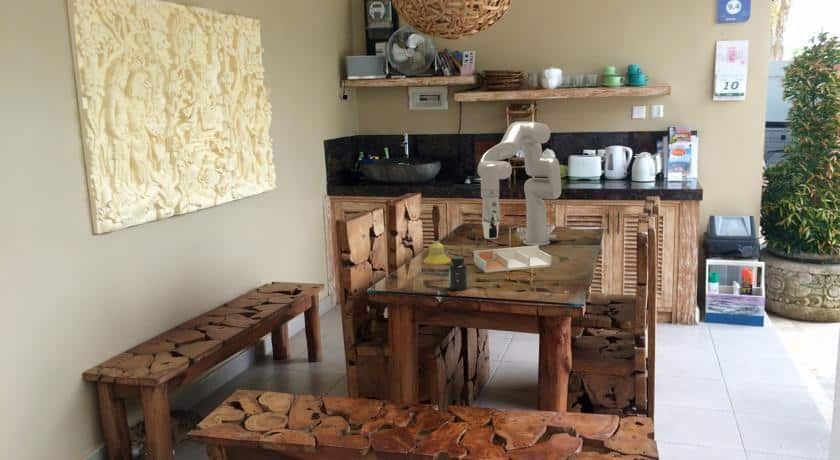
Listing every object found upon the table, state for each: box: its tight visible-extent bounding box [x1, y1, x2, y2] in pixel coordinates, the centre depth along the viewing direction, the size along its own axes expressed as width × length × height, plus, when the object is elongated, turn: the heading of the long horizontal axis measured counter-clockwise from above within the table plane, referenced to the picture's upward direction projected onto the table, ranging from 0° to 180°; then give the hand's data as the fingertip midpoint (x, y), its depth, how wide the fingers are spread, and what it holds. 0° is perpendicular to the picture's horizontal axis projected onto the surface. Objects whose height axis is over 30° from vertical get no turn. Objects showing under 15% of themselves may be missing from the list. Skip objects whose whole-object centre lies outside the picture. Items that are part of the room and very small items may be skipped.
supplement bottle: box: [448, 255, 468, 291], centre depth 270 cm, size 7×7×12 cm
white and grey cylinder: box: [482, 219, 500, 240], centre depth 297 cm, size 7×7×7 cm
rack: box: [473, 245, 552, 274], centre depth 302 cm, size 29×15×6 cm, turn 103°
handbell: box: [423, 204, 451, 265], centre depth 313 cm, size 12×12×25 cm
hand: (490, 235), depth 298 cm, fingers closed on white and grey cylinder, 5 cm apart
